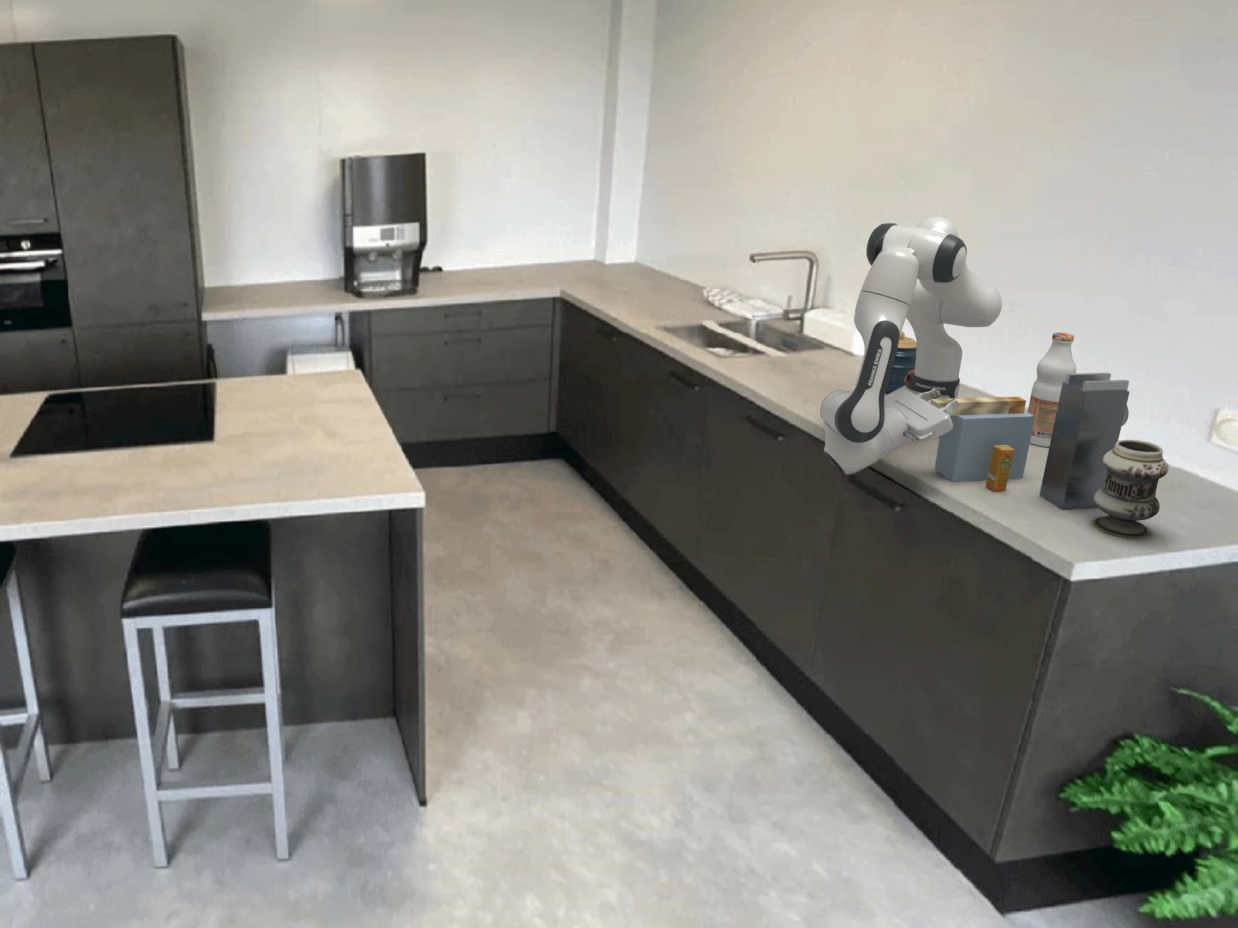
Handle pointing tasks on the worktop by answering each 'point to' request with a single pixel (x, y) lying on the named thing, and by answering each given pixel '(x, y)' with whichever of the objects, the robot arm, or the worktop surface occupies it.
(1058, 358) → the fruit juice
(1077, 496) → the housing tower
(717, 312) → the worktop surface
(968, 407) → the tan wooden bar
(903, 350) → the canister
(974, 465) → the pale blue brick
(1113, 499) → the apothecary jar
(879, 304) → the robot arm
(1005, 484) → the supplement box
